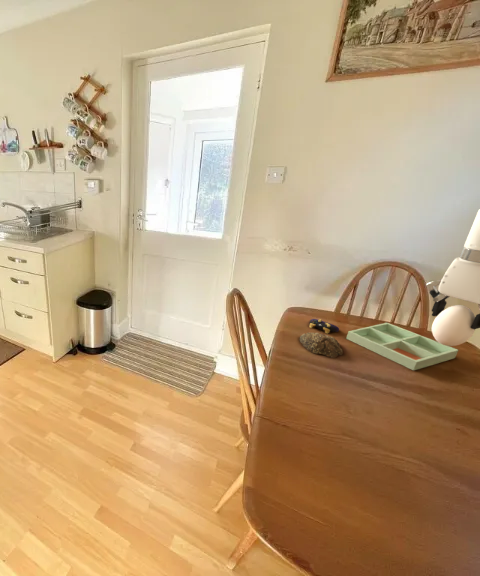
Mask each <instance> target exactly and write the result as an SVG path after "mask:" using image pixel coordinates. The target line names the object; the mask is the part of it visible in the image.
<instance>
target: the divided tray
mask: <svg viewBox="0 0 480 576" xmlns="http://www.w3.org/2000/svg"><path fill="white" fill-rule="evenodd" d="M345 339H346V340H348V341H350V342H352V343H354V344H356V345H359V346H361V347H363V348H365V349H367V350H369V351H371V352H373V353H375V354H377V355H380V356H382V357H384V358H386V359H388V360H390V361H392V362H394V363H396V364H399V365H400V366H403V367H405V368H407V369H409V370H412V371H417V370H421V369H423V368H427V367H430V366H433V365H437V364H439V363H443V362H446V361H447V362H448V361H449V360H453V359H456V357H457V354H458V352H459V349H457V348H455V347H453V346H446V345H443V344H441V343H439V342H438V341H437V340H434V339H431V338H429V337H426V336H423V335H421V334H418V333H415V332H414V331H411V330H408V329H405V328H404V327H403V328H402V327H400V326H397V325H395V324H392V323H389V322H384V323H379V324H378V323H377V324H375V325H370V326H366V327H361V328H357V329H353V330H349V331H348V332H347V335H346V338H345Z"/></svg>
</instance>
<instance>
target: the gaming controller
mask: <svg viewBox="0 0 480 576" xmlns="http://www.w3.org/2000/svg"><path fill="white" fill-rule="evenodd" d="M308 325H309V328H311V329H314V328H315V329H317V330H319V331H323V332H324V334H331V333H338V332H339V330H340V327H339V326H337V325H334V324H332V323H330V322H326V321H324V320H322V318H321V319H320V318H319V319H318V318H311V319H310V320H309V324H308Z"/></svg>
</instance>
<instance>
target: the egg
mask: <svg viewBox="0 0 480 576" xmlns="http://www.w3.org/2000/svg"><path fill="white" fill-rule="evenodd" d="M475 317H476V315H475V313H474V312H473V311H472V309H471V308H469V307H468V306H467V305H463V304H455V305H451V306H448V307H445V308H444V310H443V311H442V312H441V313H440V314H438V315H437V316H435V317H434V320H433V321H432V325H431V333H432V336H433V337H434V339H435V341H437V342H439V343H441V344H443V345H446V346H450V347H455V346H460V345H462V344H464V343H466V342H467V341H469V340H470V339H471V338H472V337H473V335H474V333H475V331H476V329H472V328H471V325H472V323H473V321H474V319H475Z"/></svg>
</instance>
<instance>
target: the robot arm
mask: <svg viewBox="0 0 480 576" xmlns="http://www.w3.org/2000/svg"><path fill="white" fill-rule="evenodd" d="M425 286H426V288H427V290H428V292H429V294H430V296H431V297H432V300H433V302H434V304H433V305H432V308H431V312H432V314H431V316H432V317H437V315H438V314H440V313H441V312H442V311H443V310H445V309H446V306H447V304H448V303H447V301H446V300H447V299H449V298H454V299H458V300H462V301H465V302H469V303H473V304H476V305H477V306H478V309H479V311H480V208H479V209H478V211H477V212H476V215H475V218H474V220H473V223H472V225H471V228H470V230H469V233H468V235H467V237H466V240H465V242H464V245H463V247H462V250H461V252H460V254H459V256H458V257H455V258H454V260H452V262H451V263H450V265H449V266H448V268H447V270H446V271H445V273H444V275H443V277H442V278H441V279H439V280H438V279H437V280H435V281H430V282H428V283H426V284H425ZM437 286H438V287H437ZM471 328H472V329H475V330H477V329H478V330H479V329H480V313H477V314H476V315H475V319H474V321H473V323H472V325H471Z"/></svg>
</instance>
